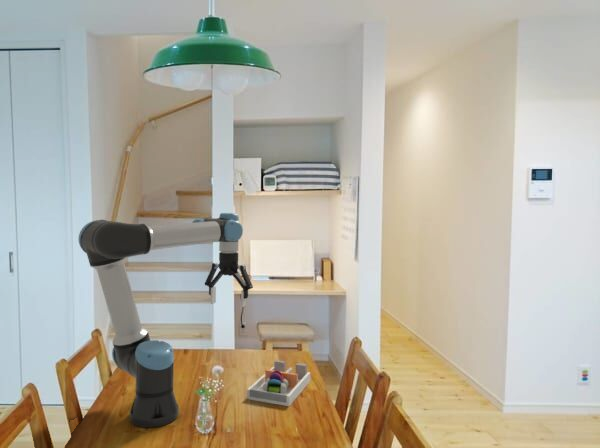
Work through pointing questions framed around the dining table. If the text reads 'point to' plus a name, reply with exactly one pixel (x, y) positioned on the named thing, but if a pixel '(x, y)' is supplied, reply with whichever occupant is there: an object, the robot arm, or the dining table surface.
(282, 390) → the multicolored domed toy
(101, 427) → the dining table surface
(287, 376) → the pusher
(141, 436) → the dining table surface
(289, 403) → the grey tray
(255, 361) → the dining table surface
